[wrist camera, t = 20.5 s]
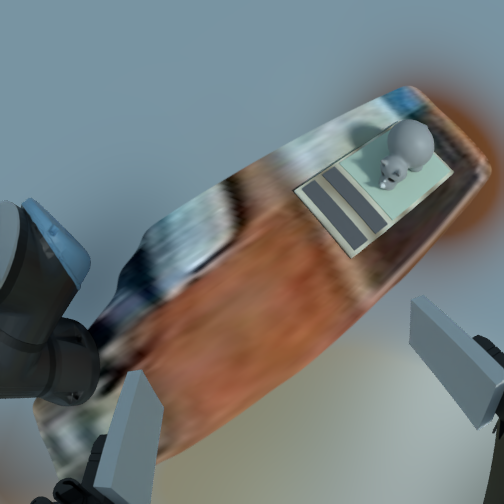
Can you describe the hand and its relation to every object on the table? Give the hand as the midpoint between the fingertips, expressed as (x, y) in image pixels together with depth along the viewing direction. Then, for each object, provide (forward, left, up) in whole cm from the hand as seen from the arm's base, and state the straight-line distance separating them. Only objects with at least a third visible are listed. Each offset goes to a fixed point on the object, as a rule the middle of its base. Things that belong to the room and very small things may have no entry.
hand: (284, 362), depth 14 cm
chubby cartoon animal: (+16, +28, -27) cm, 41 cm away
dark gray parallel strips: (+6, +21, -27) cm, 34 cm away
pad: (+16, +28, -27) cm, 42 cm away
